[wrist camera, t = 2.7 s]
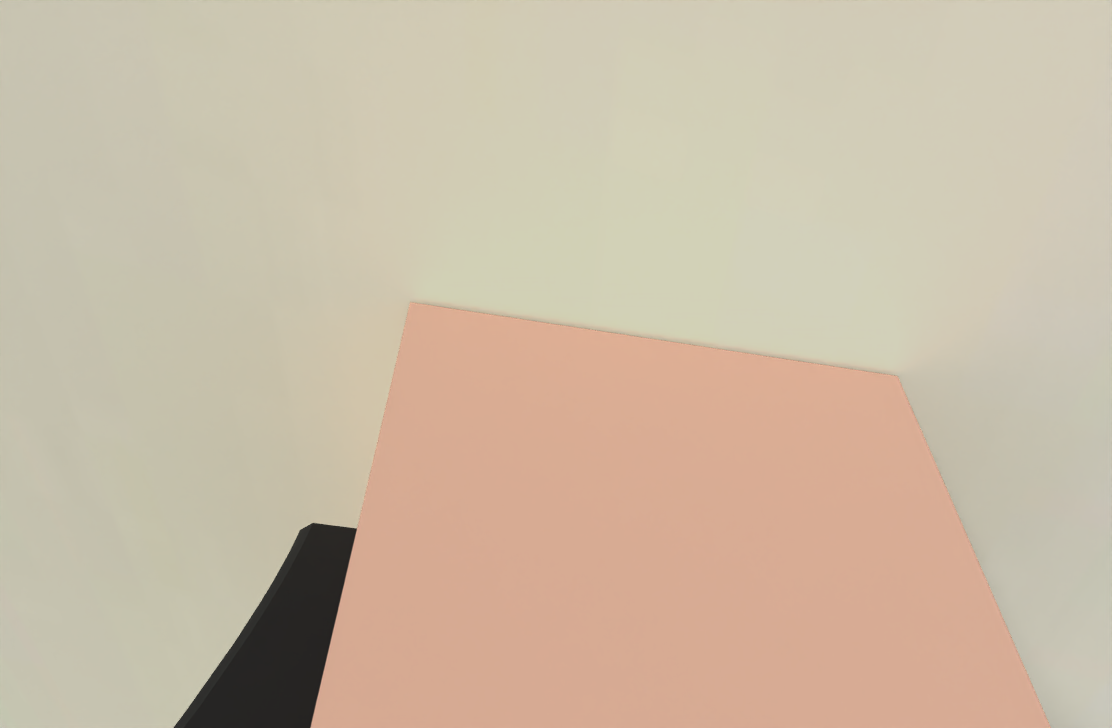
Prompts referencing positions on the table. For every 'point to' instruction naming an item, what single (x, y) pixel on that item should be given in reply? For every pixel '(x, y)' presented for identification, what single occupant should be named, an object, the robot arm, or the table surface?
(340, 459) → the table surface
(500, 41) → the table surface
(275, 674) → the robot arm
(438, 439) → the block
